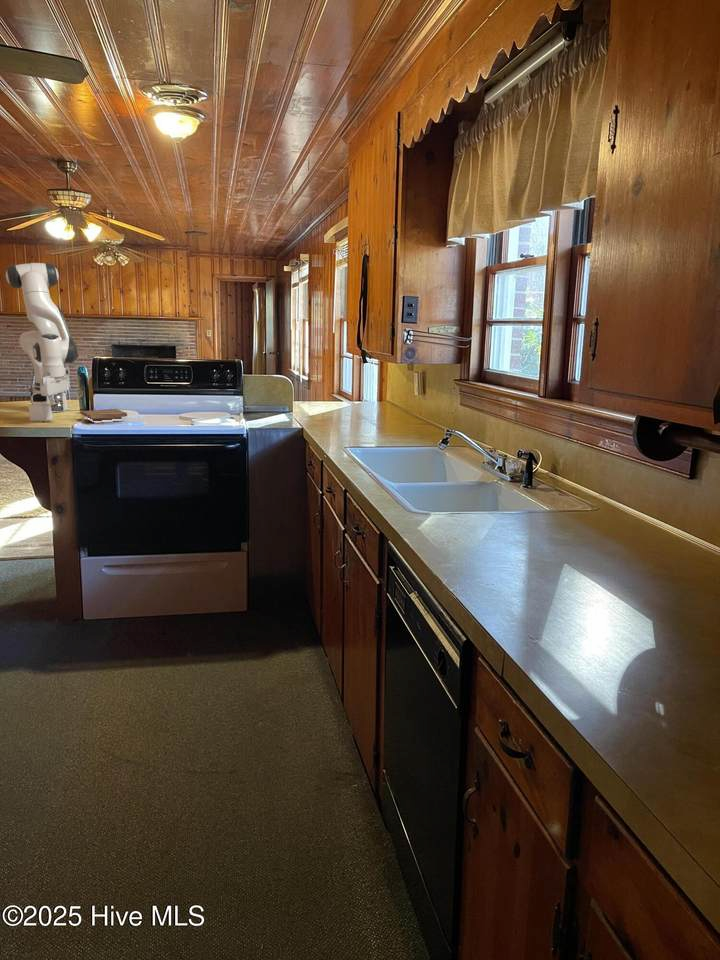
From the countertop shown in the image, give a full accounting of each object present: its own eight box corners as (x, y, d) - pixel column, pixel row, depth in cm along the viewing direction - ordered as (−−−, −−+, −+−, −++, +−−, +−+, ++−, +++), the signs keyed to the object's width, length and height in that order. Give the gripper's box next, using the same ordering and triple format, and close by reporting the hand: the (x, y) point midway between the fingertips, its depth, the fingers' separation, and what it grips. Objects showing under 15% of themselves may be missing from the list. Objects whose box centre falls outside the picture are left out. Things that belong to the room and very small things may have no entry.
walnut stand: (81, 419, 324) (81, 411, 323) (117, 417, 332) (116, 408, 332) (91, 424, 311) (90, 415, 310) (127, 421, 320) (127, 413, 319)
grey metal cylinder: (51, 409, 315) (50, 394, 313) (64, 409, 316) (63, 393, 315) (50, 411, 310) (48, 395, 308) (63, 411, 312) (62, 395, 310)
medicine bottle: (52, 419, 323) (50, 393, 320) (44, 421, 316) (42, 395, 314) (38, 418, 324) (35, 392, 321) (29, 421, 317) (27, 394, 314)
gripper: (48, 374, 299) (52, 407, 302) (71, 370, 318) (74, 400, 322) (34, 374, 299) (37, 406, 303) (57, 369, 319) (60, 400, 322)
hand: (56, 403), depth 312 cm, fingers closed on grey metal cylinder, 5 cm apart
